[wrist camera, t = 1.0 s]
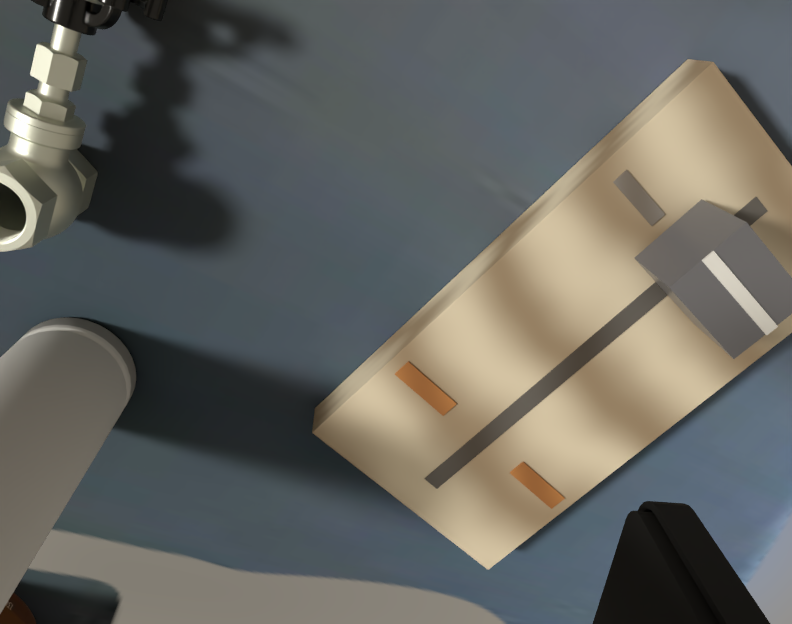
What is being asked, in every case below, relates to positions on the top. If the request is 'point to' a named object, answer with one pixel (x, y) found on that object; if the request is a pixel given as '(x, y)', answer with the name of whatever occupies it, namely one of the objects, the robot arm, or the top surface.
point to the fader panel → (564, 329)
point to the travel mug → (52, 428)
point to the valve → (53, 128)
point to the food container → (16, 612)
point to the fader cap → (720, 277)
